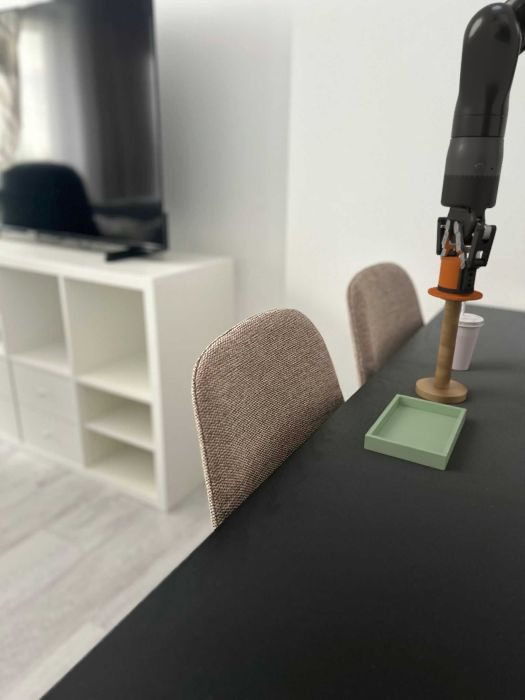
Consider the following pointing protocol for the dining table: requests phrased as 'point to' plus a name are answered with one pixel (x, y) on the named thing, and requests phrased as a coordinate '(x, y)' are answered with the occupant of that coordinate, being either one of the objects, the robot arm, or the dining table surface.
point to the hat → (451, 282)
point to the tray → (417, 431)
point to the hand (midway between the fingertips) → (455, 289)
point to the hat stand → (445, 362)
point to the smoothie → (466, 339)
